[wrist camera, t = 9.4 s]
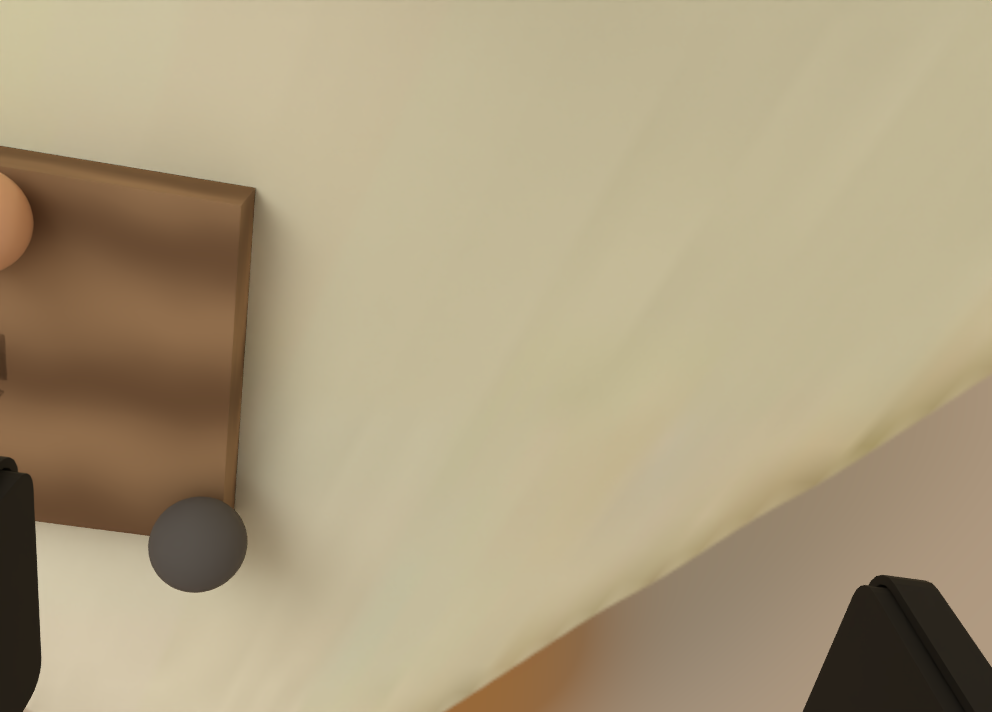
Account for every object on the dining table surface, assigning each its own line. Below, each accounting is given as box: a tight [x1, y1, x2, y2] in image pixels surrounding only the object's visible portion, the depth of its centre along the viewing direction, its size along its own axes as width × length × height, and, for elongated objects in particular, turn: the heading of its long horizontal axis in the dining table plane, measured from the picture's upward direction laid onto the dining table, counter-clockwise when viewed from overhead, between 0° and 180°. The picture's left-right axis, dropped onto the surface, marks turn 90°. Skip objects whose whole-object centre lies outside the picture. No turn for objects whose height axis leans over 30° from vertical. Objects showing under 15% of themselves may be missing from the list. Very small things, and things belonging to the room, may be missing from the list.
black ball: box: [148, 497, 247, 593], centre depth 39 cm, size 4×4×4 cm
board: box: [0, 146, 255, 536], centre depth 38 cm, size 16×19×2 cm
